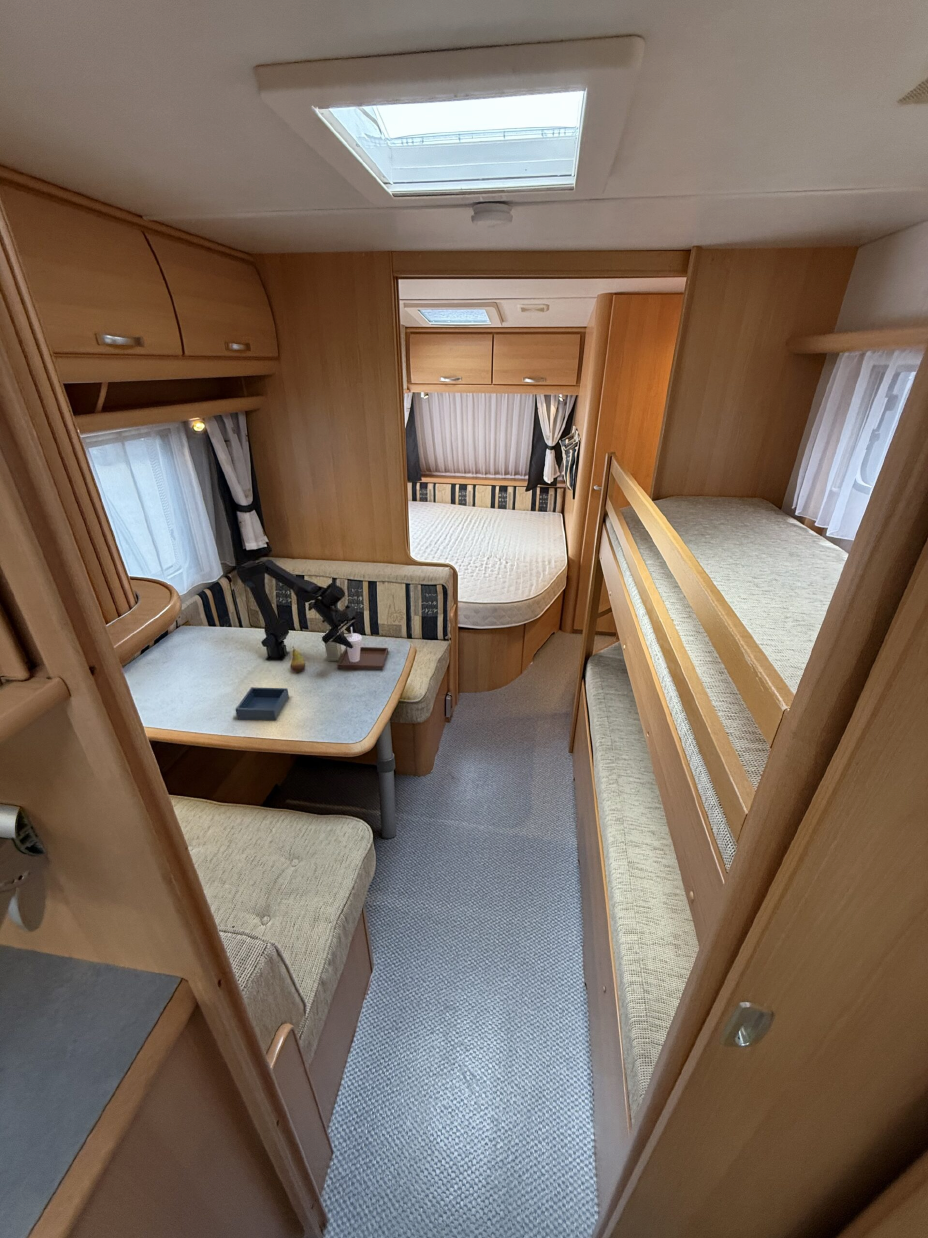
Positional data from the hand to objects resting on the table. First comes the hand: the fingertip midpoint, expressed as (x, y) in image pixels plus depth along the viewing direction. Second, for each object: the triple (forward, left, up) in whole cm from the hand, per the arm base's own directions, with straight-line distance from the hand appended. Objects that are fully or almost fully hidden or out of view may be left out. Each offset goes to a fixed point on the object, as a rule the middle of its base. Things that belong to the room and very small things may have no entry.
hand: (356, 643), depth 182 cm
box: (-12, +9, -12) cm, 20 cm away
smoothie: (-1, 0, -7) cm, 7 cm away
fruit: (-23, -1, -12) cm, 26 cm away
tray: (0, +8, -12) cm, 15 cm away
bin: (-27, -25, -12) cm, 38 cm away
